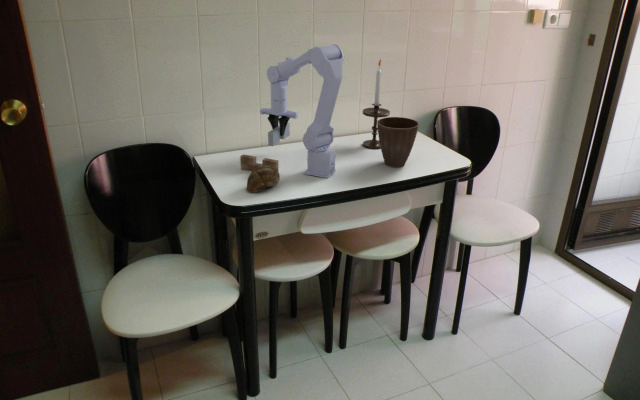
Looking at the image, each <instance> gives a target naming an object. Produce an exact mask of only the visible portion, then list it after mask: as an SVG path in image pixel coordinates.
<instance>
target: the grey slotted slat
mask: <svg viewBox="0 0 640 400" xmlns="http://www.w3.org/2000/svg"><path fill="white" fill-rule="evenodd" d="M290 128H291V127H290V122H288V123H287V126H286V129H285V133H284V135H283V136H280V125H278V127H276V128H274V129H271V130H269V131H268V132H267V140H268V141H267V142H268V145H267V146H270V147H274V146H276V145H278V144H279V143H280V140H285V139H287V138H288V137H290V133H291V132H290V130H291V129H290Z"/></svg>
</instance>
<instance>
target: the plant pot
mask: <svg viewBox="0 0 640 400" xmlns="http://www.w3.org/2000/svg"><path fill="white" fill-rule="evenodd" d="M419 124H420V123H419V122H418V121H417V120H414V119H413V118H408V117H401V116H387V117H381V118H380V119H379V118H378V119H377V126H378V130H377V133H378V134H377V135H378V140H379V142H380V147H381V149H380V151H381V154H382V158H383V161H384V163H385V165H386V166H387V167H391V168H401V167H404V166H405V165H406V163H407V161H408V159H409V157H410V154H411V152H412V150H413V147H414V144H415V141H416V137H417V134H418V130H419V126H420V125H419Z"/></svg>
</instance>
